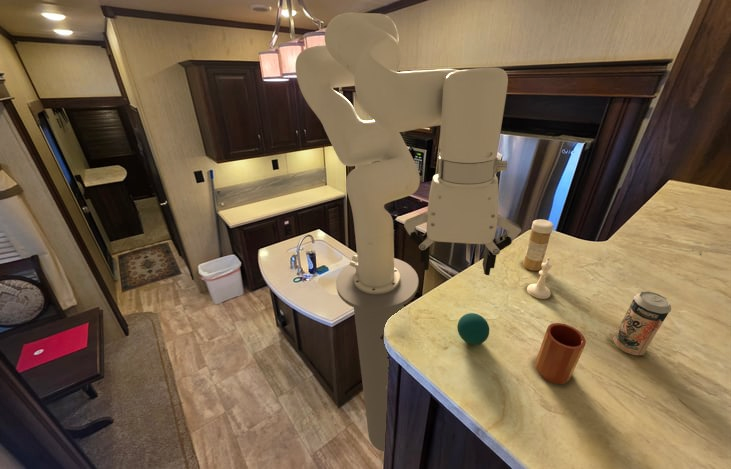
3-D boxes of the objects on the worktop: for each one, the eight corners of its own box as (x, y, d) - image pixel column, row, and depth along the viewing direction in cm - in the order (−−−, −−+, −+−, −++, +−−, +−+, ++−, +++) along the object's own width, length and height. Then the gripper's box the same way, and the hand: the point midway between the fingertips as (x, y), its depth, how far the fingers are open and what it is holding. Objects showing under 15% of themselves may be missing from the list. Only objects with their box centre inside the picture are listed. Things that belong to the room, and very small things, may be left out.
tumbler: (531, 372, 52) (543, 337, 47) (539, 352, 55) (551, 318, 51) (566, 390, 49) (582, 354, 44) (572, 367, 52) (588, 332, 48)
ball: (451, 341, 59) (453, 320, 56) (463, 323, 63) (466, 302, 60) (480, 356, 55) (484, 334, 52) (491, 336, 59) (496, 315, 56)
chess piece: (550, 288, 70) (561, 254, 66) (550, 301, 67) (562, 266, 62) (527, 283, 73) (536, 250, 68) (526, 295, 69) (536, 261, 64)
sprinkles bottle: (529, 259, 81) (540, 217, 74) (545, 268, 77) (558, 223, 71) (518, 265, 79) (529, 221, 73) (533, 273, 76) (546, 228, 69)
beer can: (605, 340, 56) (629, 294, 51) (623, 333, 58) (648, 286, 52) (632, 360, 52) (661, 312, 47) (650, 352, 54) (681, 304, 48)
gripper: (526, 161, 42) (506, 259, 50) (407, 162, 46) (406, 252, 54) (541, 178, 35) (515, 287, 44) (401, 177, 39) (402, 276, 48)
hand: (455, 267), depth 49 cm, fingers open, 9 cm apart
